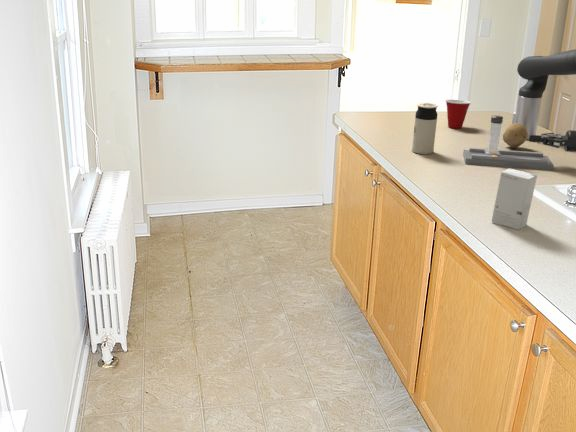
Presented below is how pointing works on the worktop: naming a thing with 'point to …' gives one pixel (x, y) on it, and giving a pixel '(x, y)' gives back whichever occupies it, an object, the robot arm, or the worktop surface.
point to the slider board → (508, 159)
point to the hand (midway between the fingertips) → (529, 138)
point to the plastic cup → (456, 113)
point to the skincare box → (514, 198)
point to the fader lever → (494, 136)
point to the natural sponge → (515, 135)
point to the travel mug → (425, 128)
